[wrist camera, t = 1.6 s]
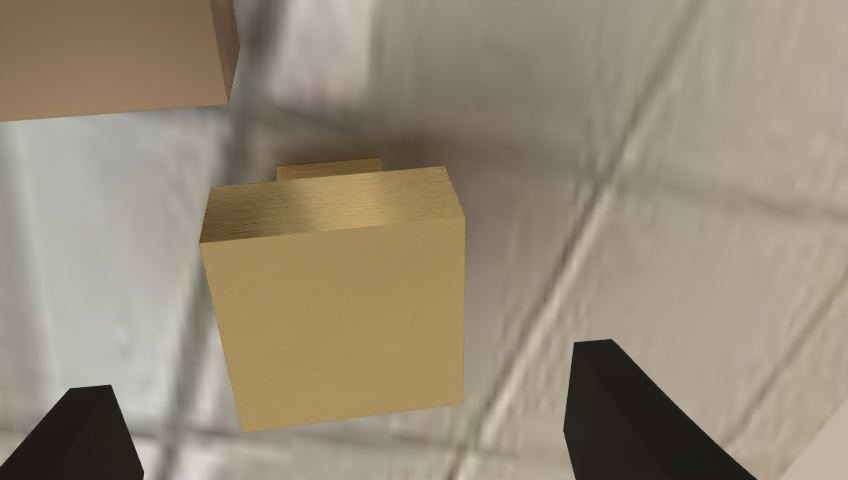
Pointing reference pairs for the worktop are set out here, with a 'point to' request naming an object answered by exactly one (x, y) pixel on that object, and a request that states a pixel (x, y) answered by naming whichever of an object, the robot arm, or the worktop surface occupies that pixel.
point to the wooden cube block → (338, 291)
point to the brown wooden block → (114, 56)
